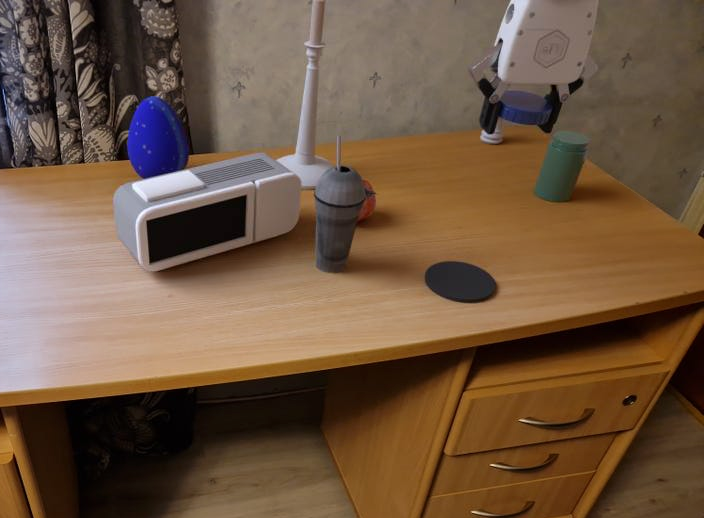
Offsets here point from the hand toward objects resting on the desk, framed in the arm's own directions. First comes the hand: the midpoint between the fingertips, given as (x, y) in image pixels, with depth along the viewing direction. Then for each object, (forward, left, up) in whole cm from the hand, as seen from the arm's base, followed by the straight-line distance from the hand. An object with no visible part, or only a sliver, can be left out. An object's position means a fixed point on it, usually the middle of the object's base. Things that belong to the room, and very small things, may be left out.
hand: (515, 128), depth 88 cm
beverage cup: (+21, -2, -22) cm, 31 cm away
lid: (0, 0, +3) cm, 3 cm away
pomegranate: (+15, -16, -22) cm, 31 cm away
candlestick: (+20, -33, -22) cm, 45 cm away
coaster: (+3, +4, -22) cm, 22 cm away
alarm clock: (+39, -10, -22) cm, 46 cm away
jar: (-23, -23, -22) cm, 39 cm away
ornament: (+47, -32, -22) cm, 62 cm away
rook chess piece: (-21, -47, -22) cm, 55 cm away
